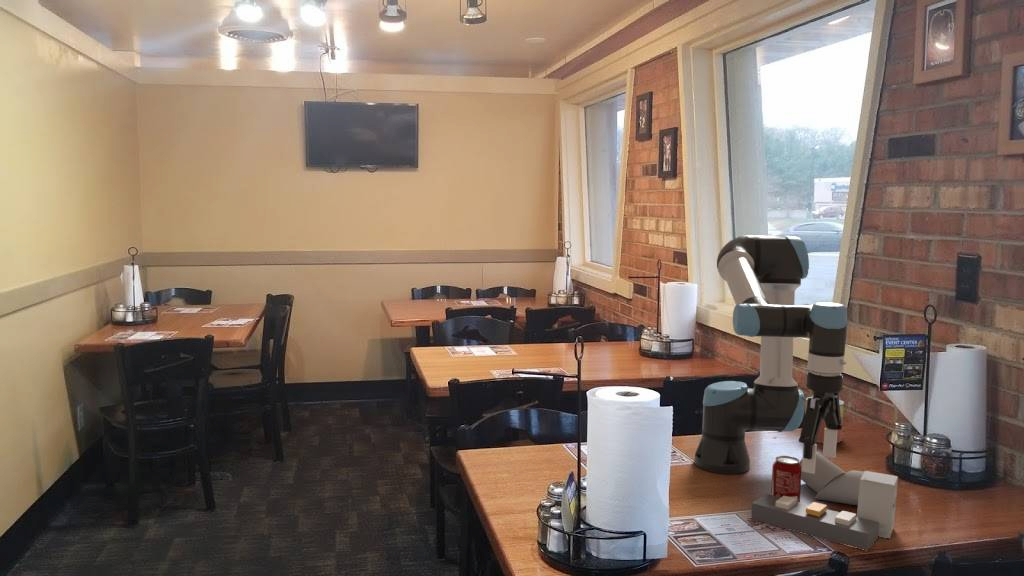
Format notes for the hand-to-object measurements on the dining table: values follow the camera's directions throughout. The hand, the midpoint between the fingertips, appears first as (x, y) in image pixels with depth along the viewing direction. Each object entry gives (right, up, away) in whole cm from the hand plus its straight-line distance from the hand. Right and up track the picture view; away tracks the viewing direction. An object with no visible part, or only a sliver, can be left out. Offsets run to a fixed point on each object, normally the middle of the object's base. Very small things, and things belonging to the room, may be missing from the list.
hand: (818, 464), depth 184 cm
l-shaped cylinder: (+13, -13, +23) cm, 30 cm away
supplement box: (+14, -16, +2) cm, 21 cm away
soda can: (-3, -14, +15) cm, 21 cm away
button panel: (-1, -15, +2) cm, 15 cm away
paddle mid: (0, -11, +1) cm, 11 cm away
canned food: (+28, -8, +72) cm, 78 cm away
